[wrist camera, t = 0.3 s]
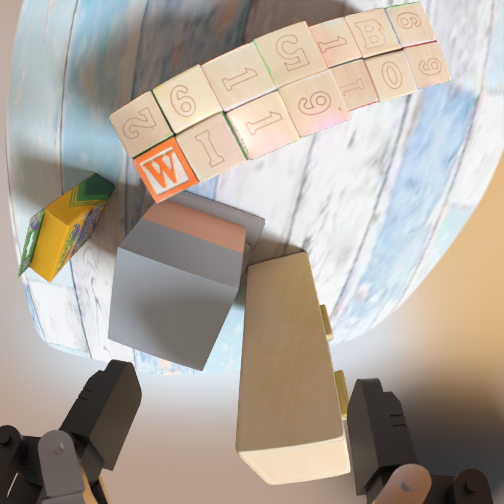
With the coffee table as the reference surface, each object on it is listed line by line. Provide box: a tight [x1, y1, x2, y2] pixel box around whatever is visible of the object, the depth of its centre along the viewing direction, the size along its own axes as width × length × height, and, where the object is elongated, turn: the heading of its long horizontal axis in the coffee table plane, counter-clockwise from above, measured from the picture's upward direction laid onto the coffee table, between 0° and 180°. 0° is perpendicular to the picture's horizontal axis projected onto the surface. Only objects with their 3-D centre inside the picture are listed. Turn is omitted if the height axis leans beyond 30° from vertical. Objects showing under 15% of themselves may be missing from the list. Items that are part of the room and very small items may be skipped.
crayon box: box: [18, 173, 115, 282], centre depth 26 cm, size 7×3×12 cm, turn 143°
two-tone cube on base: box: [108, 187, 265, 371], centre depth 28 cm, size 12×12×11 cm
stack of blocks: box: [109, 2, 451, 203], centre depth 19 cm, size 21×6×12 cm, turn 114°
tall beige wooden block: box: [236, 252, 350, 485], centre depth 26 cm, size 8×7×21 cm
